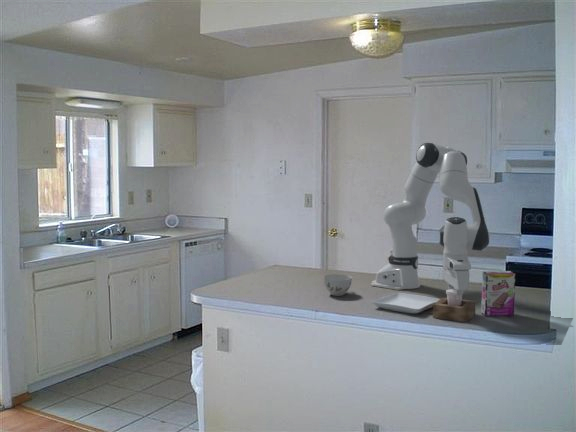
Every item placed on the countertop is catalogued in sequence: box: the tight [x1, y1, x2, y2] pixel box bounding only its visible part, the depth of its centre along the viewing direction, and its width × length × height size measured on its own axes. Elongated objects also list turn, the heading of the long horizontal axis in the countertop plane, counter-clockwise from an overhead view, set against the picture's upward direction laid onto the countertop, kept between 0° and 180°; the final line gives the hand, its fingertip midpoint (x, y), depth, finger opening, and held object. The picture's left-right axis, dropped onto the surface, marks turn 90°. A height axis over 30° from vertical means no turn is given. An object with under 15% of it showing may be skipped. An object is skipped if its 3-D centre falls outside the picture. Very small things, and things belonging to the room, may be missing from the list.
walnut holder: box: [432, 297, 476, 323], centre depth 229 cm, size 13×13×5 cm
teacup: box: [323, 273, 353, 297], centre depth 266 cm, size 15×12×8 cm
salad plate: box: [371, 292, 441, 315], centre depth 243 cm, size 21×21×3 cm
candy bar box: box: [480, 270, 516, 317], centre depth 229 cm, size 11×5×16 cm, turn 92°
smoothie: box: [445, 288, 464, 306], centre depth 228 cm, size 6×6×14 cm
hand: (454, 297), depth 228 cm, fingers closed on smoothie, 6 cm apart
